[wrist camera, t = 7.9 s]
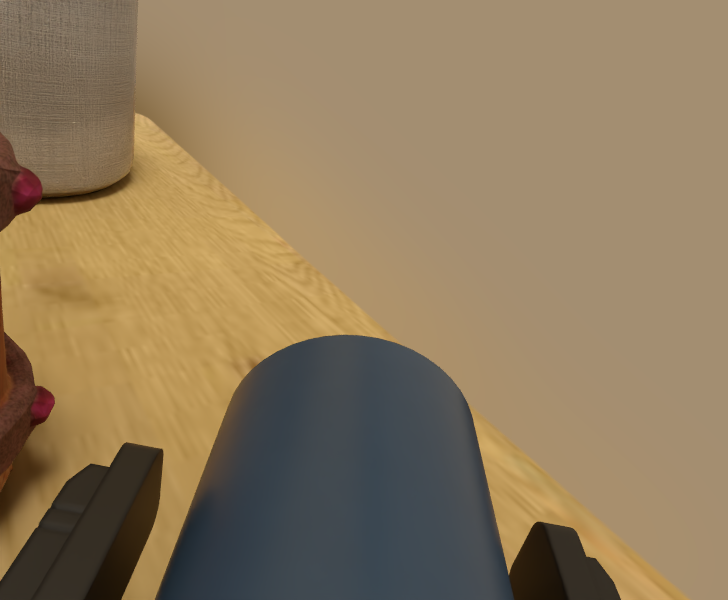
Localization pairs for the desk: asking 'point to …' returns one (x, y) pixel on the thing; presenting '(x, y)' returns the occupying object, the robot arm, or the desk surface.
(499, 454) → the desk surface
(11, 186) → the mug
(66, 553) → the robot arm
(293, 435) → the blue metal can
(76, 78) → the planter
